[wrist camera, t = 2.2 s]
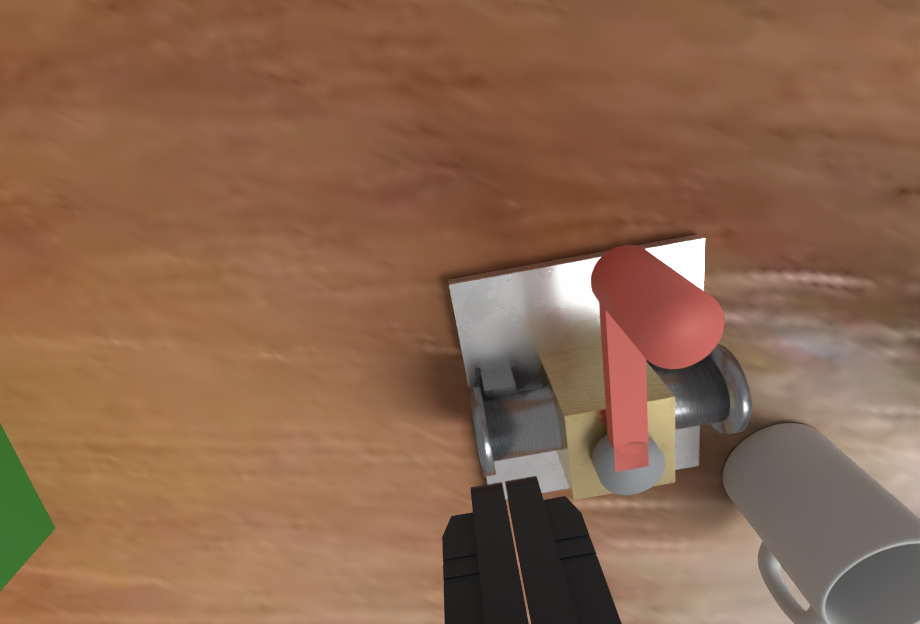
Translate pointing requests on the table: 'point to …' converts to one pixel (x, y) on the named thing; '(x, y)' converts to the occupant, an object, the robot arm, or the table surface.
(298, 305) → the table surface
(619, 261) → the lever
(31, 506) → the hardback book
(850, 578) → the mug
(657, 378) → the valve body
